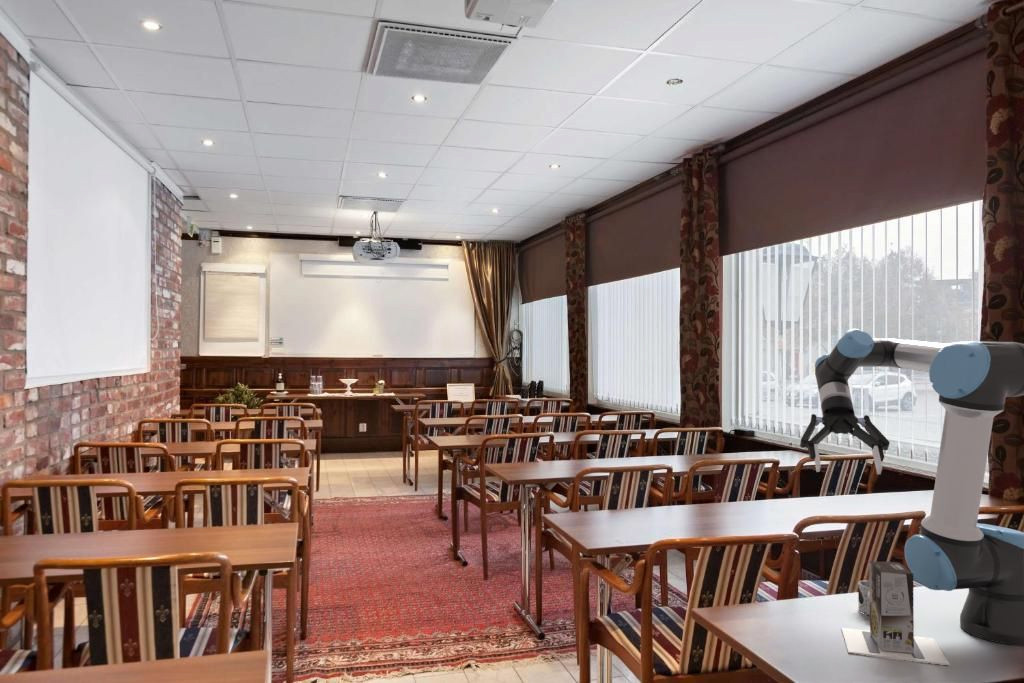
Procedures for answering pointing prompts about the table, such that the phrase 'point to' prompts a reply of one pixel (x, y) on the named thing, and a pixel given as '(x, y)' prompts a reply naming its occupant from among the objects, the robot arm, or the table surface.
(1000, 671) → the table surface
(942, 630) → the table surface
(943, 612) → the table surface
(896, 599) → the coffee box
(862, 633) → the letter card
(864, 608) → the mug
